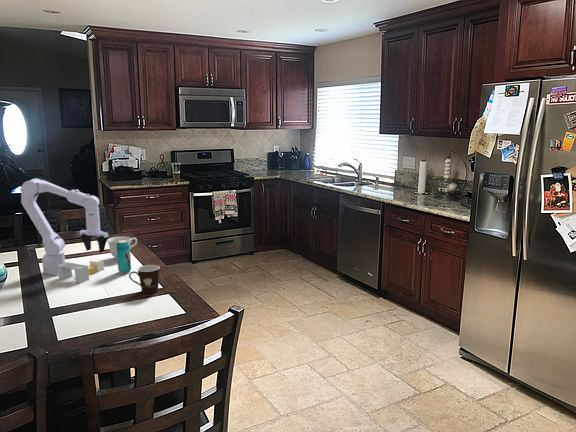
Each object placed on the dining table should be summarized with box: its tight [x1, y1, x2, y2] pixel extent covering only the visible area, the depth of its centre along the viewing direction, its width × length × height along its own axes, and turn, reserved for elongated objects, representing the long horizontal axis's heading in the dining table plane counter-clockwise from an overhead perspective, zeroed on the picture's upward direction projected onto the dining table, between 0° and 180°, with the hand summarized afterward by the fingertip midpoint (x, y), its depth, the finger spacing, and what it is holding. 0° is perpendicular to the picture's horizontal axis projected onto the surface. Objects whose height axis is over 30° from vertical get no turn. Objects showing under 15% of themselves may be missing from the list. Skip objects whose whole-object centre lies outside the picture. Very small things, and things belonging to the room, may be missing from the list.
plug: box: [87, 258, 105, 276], centre depth 217 cm, size 4×12×5 cm, turn 160°
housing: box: [58, 261, 90, 284], centre depth 208 cm, size 12×5×6 cm, turn 67°
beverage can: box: [116, 240, 132, 275], centre depth 217 cm, size 6×6×15 cm
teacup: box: [106, 235, 138, 261], centre depth 240 cm, size 12×15×10 cm
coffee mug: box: [128, 264, 160, 295], centre depth 195 cm, size 12×9×10 cm
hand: (95, 251), depth 219 cm, fingers open, 7 cm apart
